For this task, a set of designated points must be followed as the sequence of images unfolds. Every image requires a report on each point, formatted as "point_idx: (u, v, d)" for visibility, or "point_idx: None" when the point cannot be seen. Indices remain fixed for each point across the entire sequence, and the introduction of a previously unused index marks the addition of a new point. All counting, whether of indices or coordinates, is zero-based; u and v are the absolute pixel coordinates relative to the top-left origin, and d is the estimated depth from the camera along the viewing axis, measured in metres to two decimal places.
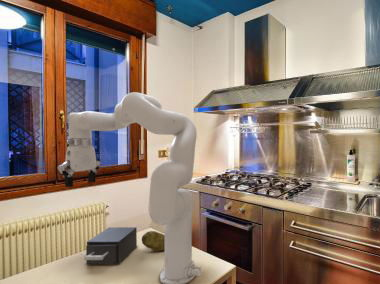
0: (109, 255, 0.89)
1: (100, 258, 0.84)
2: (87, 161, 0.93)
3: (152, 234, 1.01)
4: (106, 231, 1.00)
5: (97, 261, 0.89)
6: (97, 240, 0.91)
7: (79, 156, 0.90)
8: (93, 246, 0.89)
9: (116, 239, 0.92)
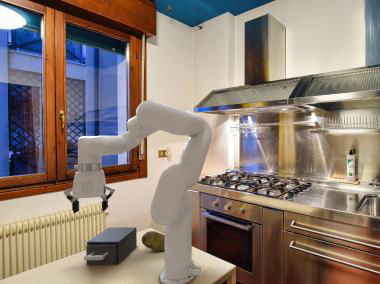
0: (109, 255, 0.89)
1: (100, 258, 0.84)
2: (89, 188, 0.86)
3: (152, 234, 1.01)
4: (106, 231, 1.00)
5: (97, 261, 0.89)
6: (97, 240, 0.91)
7: (78, 182, 0.85)
8: (93, 246, 0.89)
9: (116, 239, 0.92)
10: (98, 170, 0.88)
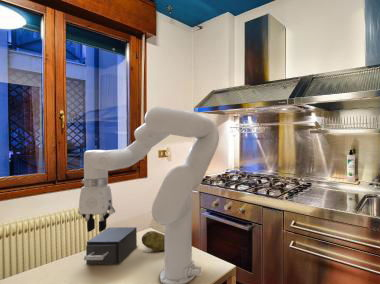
0: (109, 255, 0.89)
1: (100, 258, 0.84)
2: (93, 204, 0.84)
3: (152, 234, 1.01)
4: (106, 231, 1.00)
5: (97, 261, 0.89)
6: (97, 240, 0.91)
7: (84, 198, 0.83)
8: (93, 246, 0.89)
9: (116, 239, 0.92)
10: (102, 185, 0.85)
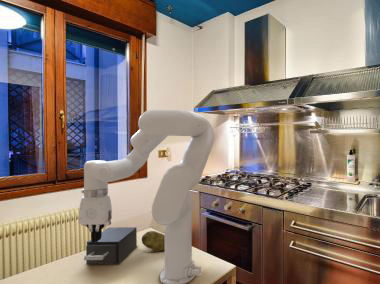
0: (109, 255, 0.89)
1: (100, 258, 0.84)
2: (93, 215, 0.84)
3: (152, 234, 1.01)
4: (106, 231, 1.00)
5: (97, 261, 0.89)
6: None
7: (83, 208, 0.84)
8: (93, 246, 0.89)
9: (116, 239, 0.92)
10: (102, 196, 0.85)
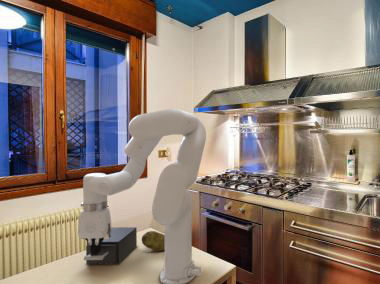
0: (109, 255, 0.89)
1: (100, 258, 0.84)
2: (92, 228, 0.83)
3: (152, 234, 1.01)
4: None
5: (97, 261, 0.89)
6: None
7: (83, 222, 0.83)
8: None
9: (116, 239, 0.92)
10: (102, 209, 0.84)
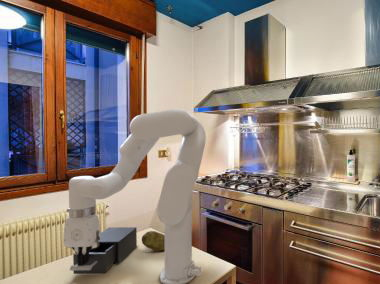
0: (98, 264, 0.82)
1: (88, 268, 0.78)
2: (79, 236, 0.77)
3: (152, 234, 1.01)
4: (106, 231, 1.00)
5: (85, 271, 0.82)
6: None
7: (69, 229, 0.77)
8: None
9: (116, 239, 0.92)
10: (89, 216, 0.78)
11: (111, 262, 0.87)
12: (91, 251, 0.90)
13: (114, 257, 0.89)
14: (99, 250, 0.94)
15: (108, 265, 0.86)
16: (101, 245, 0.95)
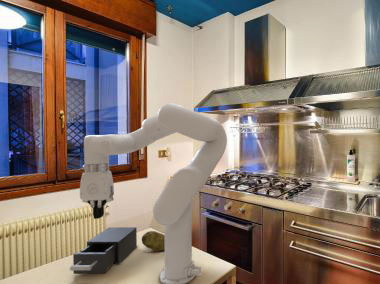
0: (98, 264, 0.82)
1: (88, 268, 0.78)
2: (94, 190, 0.82)
3: (152, 234, 1.01)
4: (106, 231, 1.00)
5: (85, 271, 0.82)
6: (97, 240, 0.91)
7: (85, 184, 0.81)
8: (81, 255, 0.82)
9: (116, 239, 0.92)
10: (104, 171, 0.83)
11: (111, 262, 0.87)
12: (91, 251, 0.90)
13: (114, 257, 0.89)
14: (99, 250, 0.94)
15: (108, 265, 0.86)
16: (101, 245, 0.95)
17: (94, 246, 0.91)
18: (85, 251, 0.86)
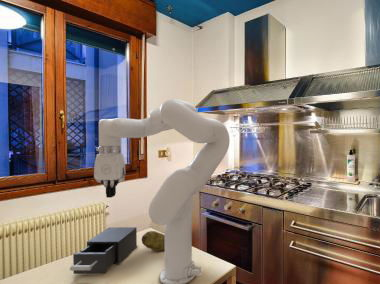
0: (98, 264, 0.82)
1: (88, 268, 0.78)
2: (107, 170, 0.87)
3: (152, 234, 1.01)
4: (106, 231, 1.00)
5: (85, 271, 0.82)
6: (97, 240, 0.91)
7: (99, 164, 0.87)
8: (81, 255, 0.82)
9: (116, 239, 0.92)
10: (116, 153, 0.88)
11: (111, 262, 0.87)
12: (91, 251, 0.90)
13: (114, 257, 0.89)
14: (99, 250, 0.94)
15: (108, 265, 0.86)
16: (101, 245, 0.95)
17: (94, 246, 0.91)
18: (85, 251, 0.86)
